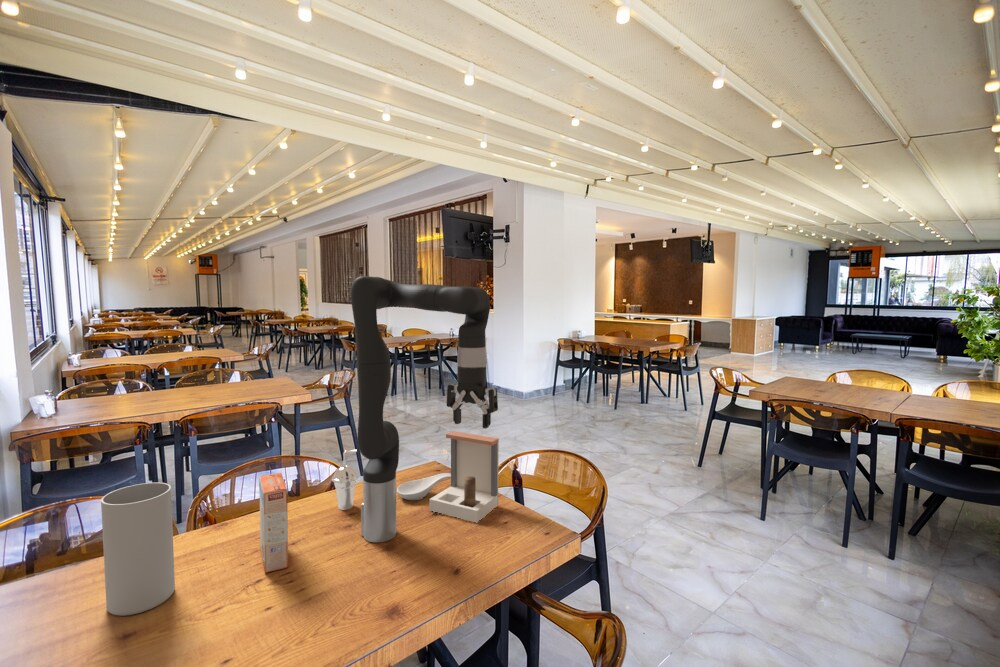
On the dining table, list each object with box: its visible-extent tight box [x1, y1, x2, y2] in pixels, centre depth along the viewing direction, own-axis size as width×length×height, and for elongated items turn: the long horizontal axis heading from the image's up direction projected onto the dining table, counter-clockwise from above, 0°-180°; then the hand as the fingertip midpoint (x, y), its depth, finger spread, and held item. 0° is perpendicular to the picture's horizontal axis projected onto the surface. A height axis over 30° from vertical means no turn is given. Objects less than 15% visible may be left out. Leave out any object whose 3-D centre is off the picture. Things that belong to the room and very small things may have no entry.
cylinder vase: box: [100, 482, 176, 617], centre depth 108 cm, size 12×12×25 cm
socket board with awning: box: [428, 430, 500, 524], centre depth 157 cm, size 18×14×23 cm
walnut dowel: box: [464, 476, 476, 508], centre depth 153 cm, size 4×4×12 cm
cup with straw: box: [331, 449, 360, 511], centre depth 157 cm, size 8×9×20 cm
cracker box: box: [258, 472, 289, 574], centre depth 126 cm, size 14×6×21 cm, turn 30°
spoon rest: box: [396, 472, 451, 501], centre depth 169 cm, size 24×12×7 cm, turn 107°
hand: (471, 425), depth 125 cm, fingers open, 8 cm apart
